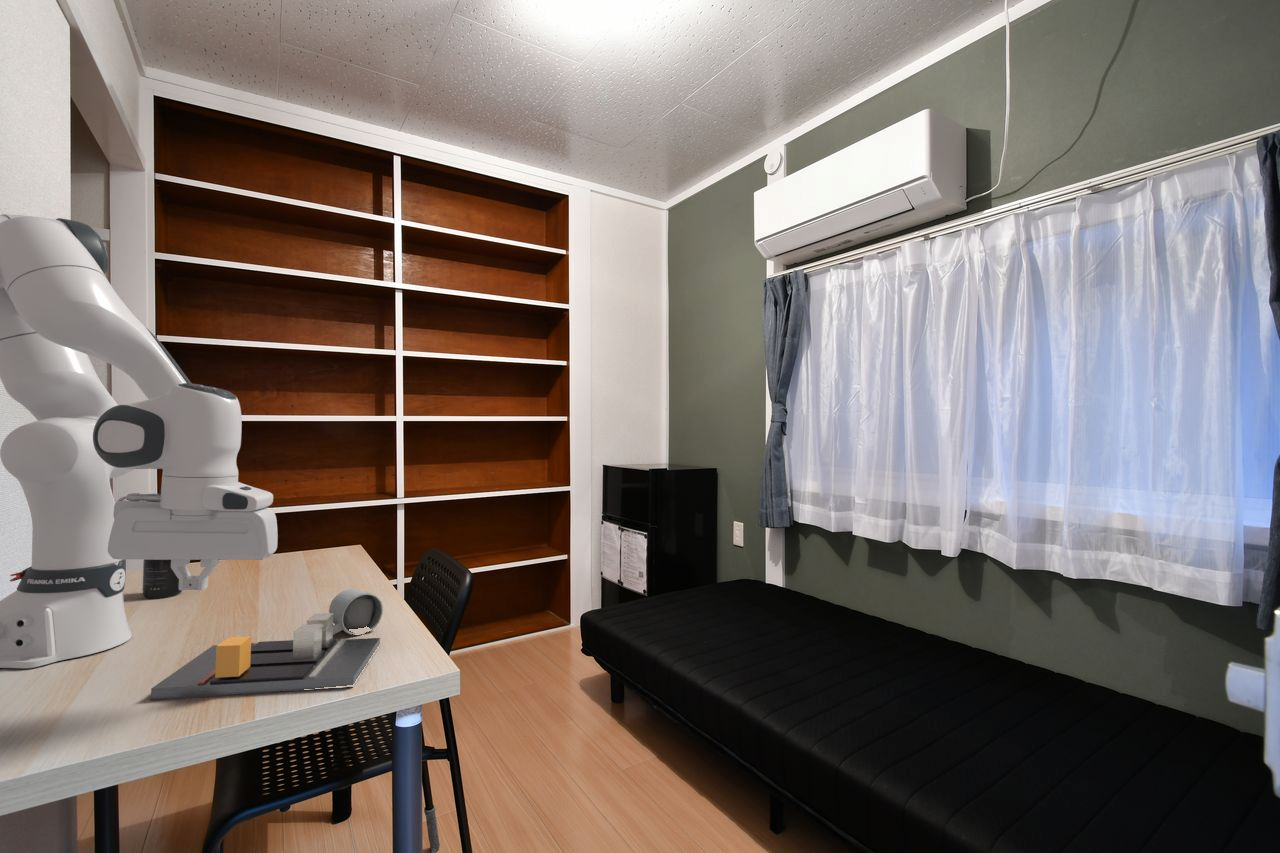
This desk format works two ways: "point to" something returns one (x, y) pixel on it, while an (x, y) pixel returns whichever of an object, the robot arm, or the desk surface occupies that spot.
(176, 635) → the desk surface
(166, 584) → the supplement bottle
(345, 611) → the ceramic mug
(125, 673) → the desk surface
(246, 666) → the toggle
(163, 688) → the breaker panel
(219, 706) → the desk surface
